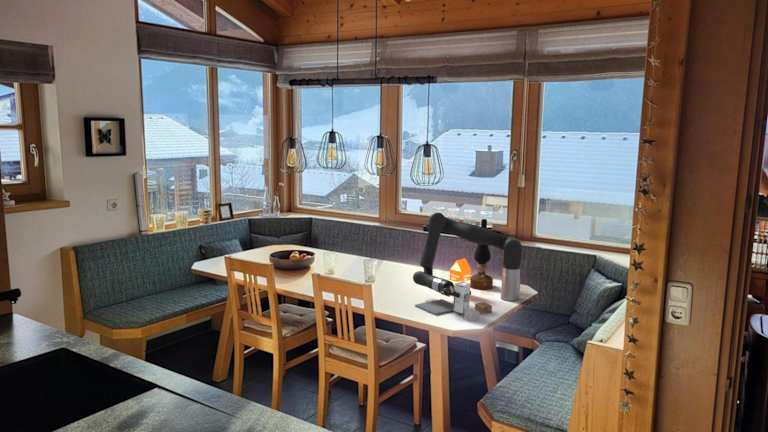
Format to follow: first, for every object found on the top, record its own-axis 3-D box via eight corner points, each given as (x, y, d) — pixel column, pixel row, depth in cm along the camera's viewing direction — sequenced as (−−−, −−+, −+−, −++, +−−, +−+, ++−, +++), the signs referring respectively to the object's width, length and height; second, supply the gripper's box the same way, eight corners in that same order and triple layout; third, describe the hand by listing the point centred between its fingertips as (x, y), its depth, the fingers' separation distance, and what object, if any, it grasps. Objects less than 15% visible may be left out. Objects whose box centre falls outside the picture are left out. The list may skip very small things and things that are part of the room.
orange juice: (448, 295, 324) (450, 259, 320) (458, 291, 330) (459, 256, 327) (460, 298, 319) (462, 262, 315) (469, 295, 325) (471, 259, 322)
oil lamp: (467, 288, 349) (457, 221, 347) (493, 284, 349) (482, 217, 347) (471, 293, 335) (460, 223, 333) (498, 288, 335) (487, 218, 333)
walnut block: (484, 309, 302) (484, 302, 301) (491, 313, 296) (492, 305, 296) (474, 311, 299) (475, 303, 298) (482, 314, 294) (482, 307, 293)
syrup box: (459, 308, 297) (460, 280, 294) (469, 310, 293) (470, 282, 291) (452, 311, 293) (453, 282, 290) (463, 313, 289) (464, 285, 286)
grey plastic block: (471, 316, 290) (472, 308, 290) (479, 319, 286) (479, 311, 286) (464, 318, 287) (464, 310, 287) (471, 321, 283) (472, 313, 283)
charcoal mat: (441, 300, 313) (442, 299, 313) (462, 309, 301) (462, 307, 300) (415, 306, 303) (415, 304, 303) (435, 315, 290) (435, 313, 290)
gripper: (432, 281, 298) (454, 289, 285) (453, 276, 306) (476, 284, 293) (431, 295, 299) (453, 304, 286) (453, 291, 308) (475, 299, 294)
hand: (464, 294), depth 290 cm, fingers closed on syrup box, 7 cm apart
